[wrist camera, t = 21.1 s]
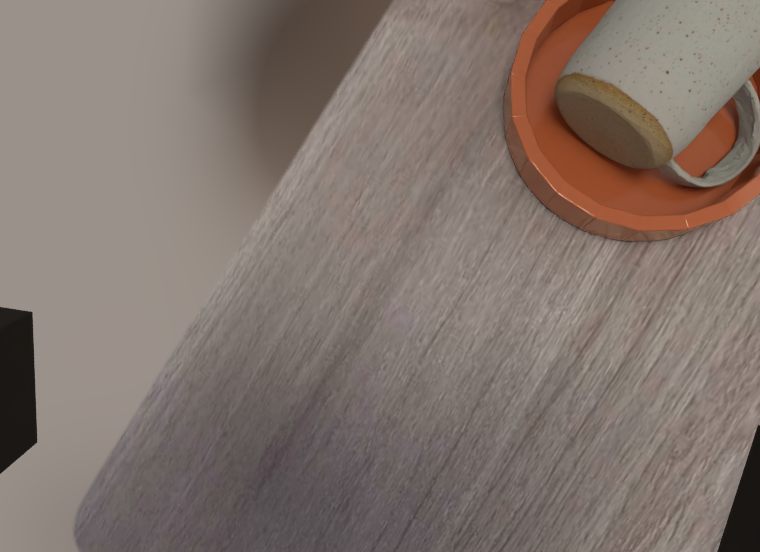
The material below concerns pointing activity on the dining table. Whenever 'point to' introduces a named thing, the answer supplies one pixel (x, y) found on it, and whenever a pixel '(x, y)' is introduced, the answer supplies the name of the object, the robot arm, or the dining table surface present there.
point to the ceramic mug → (665, 83)
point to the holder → (591, 168)
